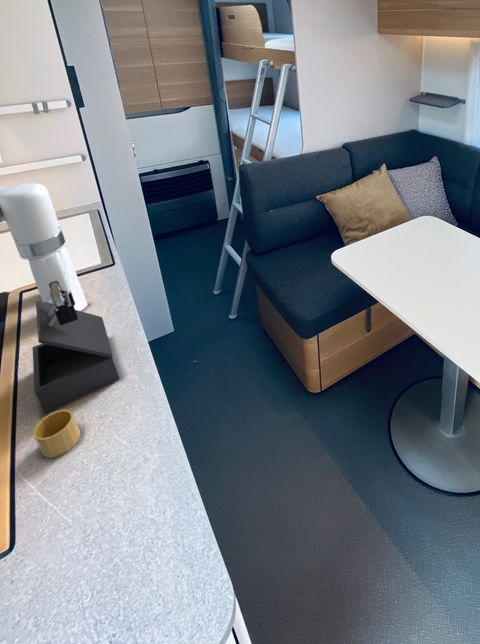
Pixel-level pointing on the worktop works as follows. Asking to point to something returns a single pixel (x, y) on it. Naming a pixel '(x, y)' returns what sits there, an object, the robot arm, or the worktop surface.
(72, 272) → the milk
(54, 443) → the cup
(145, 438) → the worktop surface
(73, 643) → the worktop surface
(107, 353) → the lid
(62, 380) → the dark grey storage bin
